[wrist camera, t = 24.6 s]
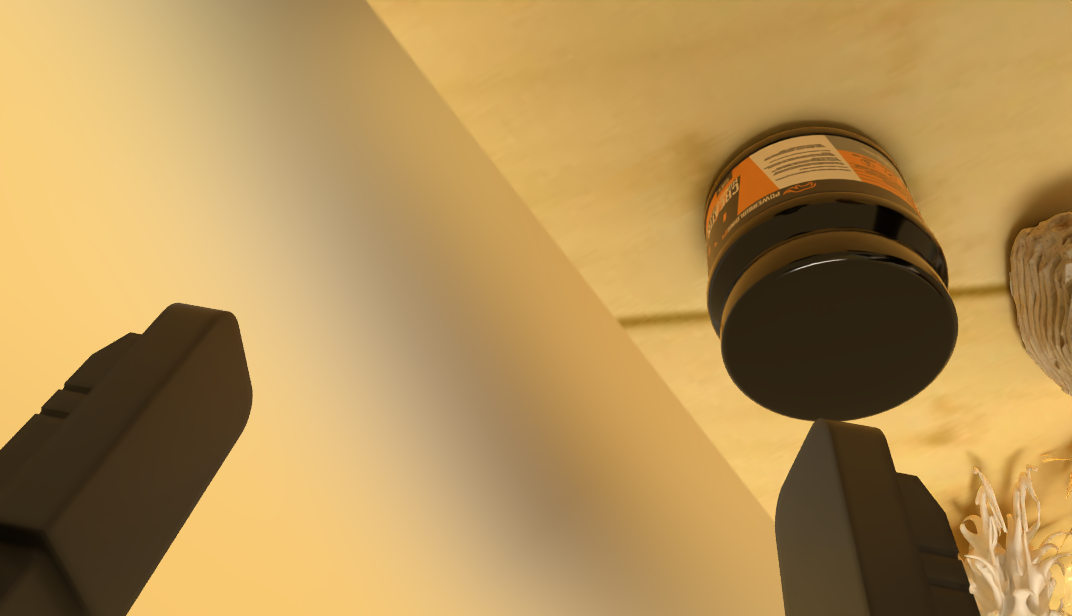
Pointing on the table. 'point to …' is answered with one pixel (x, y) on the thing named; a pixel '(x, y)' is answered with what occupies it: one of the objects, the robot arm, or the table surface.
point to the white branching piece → (1009, 557)
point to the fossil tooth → (1045, 295)
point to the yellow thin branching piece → (1071, 572)
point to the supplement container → (825, 278)
